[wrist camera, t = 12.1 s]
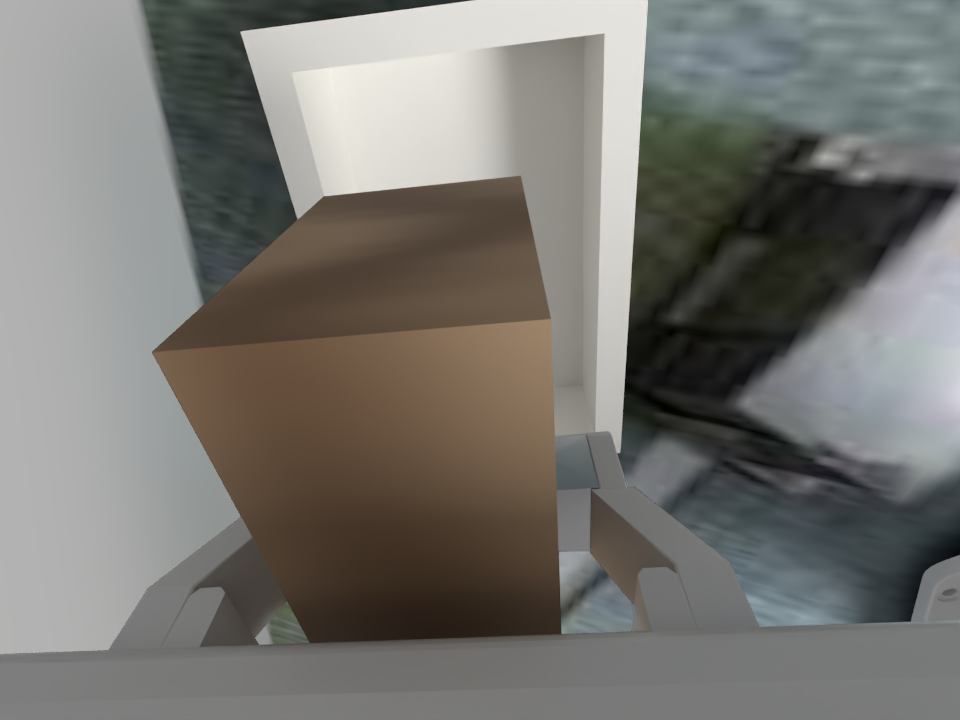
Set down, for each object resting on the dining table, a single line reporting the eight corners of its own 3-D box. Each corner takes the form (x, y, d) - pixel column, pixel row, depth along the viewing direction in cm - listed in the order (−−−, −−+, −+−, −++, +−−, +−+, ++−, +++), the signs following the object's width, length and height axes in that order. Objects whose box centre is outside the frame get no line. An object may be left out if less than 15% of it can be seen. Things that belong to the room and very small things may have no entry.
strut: (520, 175, 10) (563, 379, 4) (542, 537, 16) (572, 836, 10) (323, 196, 10) (82, 414, 4) (417, 543, 16) (373, 837, 10)
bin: (601, 390, 28) (620, 452, 23) (391, 405, 29) (372, 467, 24) (613, -8, 18) (649, -24, 14) (296, 34, 19) (240, 31, 15)
